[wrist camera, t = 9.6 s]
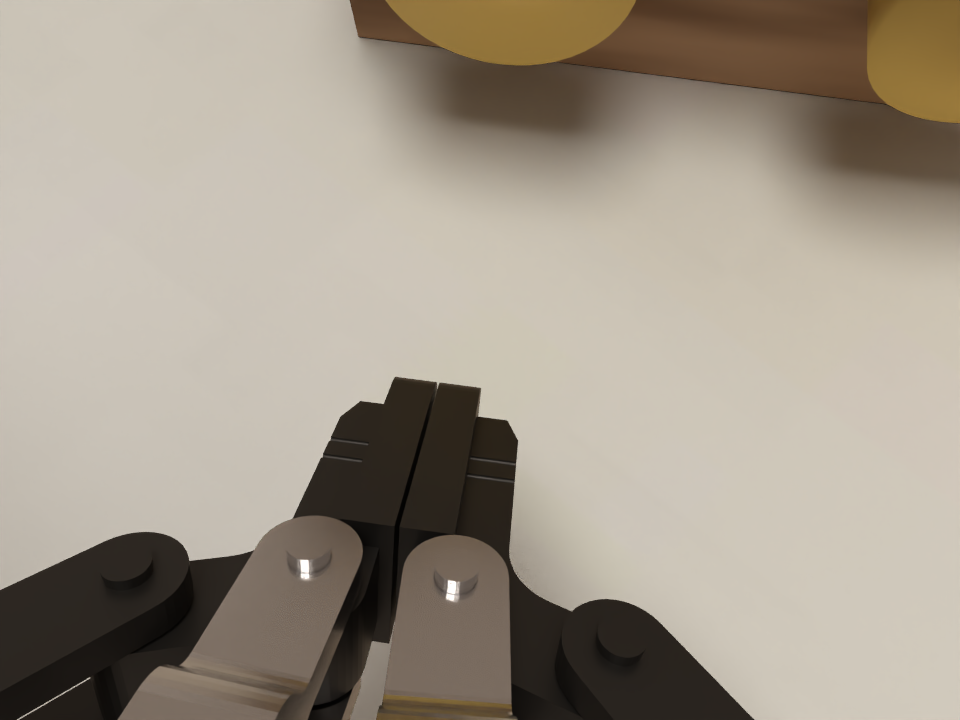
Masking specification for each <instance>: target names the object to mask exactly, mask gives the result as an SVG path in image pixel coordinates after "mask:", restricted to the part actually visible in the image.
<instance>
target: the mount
mask: <svg viewBox="0 0 960 720" xmlns="http://www.w3.org/2000/svg"><path fill="white" fill-rule="evenodd" d="M350 3H351V7H352V11H353V15H354V20H355V24H356V28H357V32H358V36H359V37H367V38H375V39H382V40H390V41H398V42H406V43H414V44H421V45H429V46H437V47H441V46H439V45H437V44H435V43H433V42H432V41H430V40H428V39H426V38H425V37H424V36H422V35H421V34H419V33H418V32H416V31H415V30H414V29H412V28H411V27H410V26H409V25H408V24H407V23H405V22H404V21H403V20H402V19H401V18H400V17H399V16H398V15H397V14H396V13H395V12H394V11H393V10H392V8H391V7H390V6H389V4H388V3H387V2H386V0H350ZM555 62H562V63H570V64H578V65H586V66H593V67H601V68H609V69H617V70H625V71H633V72H640V73H648V74H656V75H664V76H672V77H680V78H687V79H695V80H703V81H711V82H719V83H726V84H734V85H742V86H750V87H758V88H766V89H773V90H781V91H789V92H797V93H805V94H812V95H820V96H828V97H836V98H844V99H852V100H859V101H867V102H875V103H883V104H888V105H890V106H892V107H893V108H895V109H897V110H899V111H901V112H903V113H906V114H908V115H911V116H915V117H919V118H922V119H927V120H933V121H939V122H950V123H960V0H636V2H635V4H634V6H633V7H632V9H631V11H630V13H629V14H628V16H627V17H626V18H625V20H624V21H623V22H622V23H621V25H620V26H619V27H618V28H617V29H616V30H615V31H614V32H613V33H612V34H611V35H610V36H608V37H607V38H606V39H604V40H603V41H601V42H600V43H599V44H597V45H596V46H594V47H592V48H590V49H588V50H586V51H585V52H582V53H580V54H577V55H575V56H573V57H570V58H566V59H563V60H560V61H555Z"/></svg>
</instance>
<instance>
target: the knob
mask: <svg viewBox="0 0 960 720" xmlns="http://www.w3.org/2000/svg"><path fill="white" fill-rule="evenodd" d="M386 2H387V3H388V4H389V6H390V7H391V8H392V10H393V11H394V12H395V13H396V14H397V15H398V16H399V17H400V18H401V19H402V20H403V21H404V22H405V23H407V24H408V25H409V26H410V27H411V28H412V29H414V30H415V31H416V32H418V33H419V34H421V35H422V36H424V37H425V38H426V39H428V40H430V41H432V42H433V43H435V44H437V45H439V46H441V47H443V48H445V49H447V50H449V51H452V52H454V53H457V54H459V55H462V56H465V57H468V58H472V59H475V60H479V61H483V62H489V63H495V64H503V65H536V64H545V63H550V62H555V61H560V60H563V59H566V58H570V57H573V56H575V55H577V54H580V53H582V52H585V51H586V50H588V49H590V48H592V47H594V46H596V45H597V44H599V43H600V42H601V41H603V40H604V39H606V38H607V37H608V36H610V35H611V34H612V33H613V32H614V31H615V30H616V29H617V28H618V27H619V26H620V25H621V23H622V22H623V21H624V20H625V18H626V17H627V16H628V14H629V13H630V11H631V9H632V7H633V6H634V4H635V2H636V0H386Z"/></svg>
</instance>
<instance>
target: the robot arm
mask: <svg viewBox="0 0 960 720" xmlns="http://www.w3.org/2000/svg"><path fill="white" fill-rule="evenodd" d="M480 395H481V388H477V387H469V386H462V385H454V384H447V383H439V386H438V389H437V382H430V381H423V380H415V379H408V378H400V377H395V378H394V380H393V382H392V384H391V387H390V390H389V392H388V395H387V397H386V400H385V403H384V404H378V403H371V402H363V401H360V402H359V403H358V404H356V405H355V406H354V407H352V408H351V409H350V410H349V411H347V412H346V413H345V414H344V415H342V416H341V417H340V419H339V421H338V423H337V425H336V427H335V430H334V432H333V434H332V436H331V441H329V442H328V444H327V447H326V449H325V451H324V453H323V458H321V459H320V461H319V464H318V466H317V468H316V470H315V472H314V474H313V476H312V479H311V481H310V483H309V485H308V487H307V489H306V491H305V493H304V496H303V498H302V500H301V502H300V504H299V506H298V508H297V510H296V513H295V515H294V517H293V519H291V520H288V521H285V522H283V523H281V524H279V525H277V526H276V527H274V528H273V529H271V530H270V531H269V532H268V533H267V534H266V535H265V536H264V537H263V538H262V539H261V541H260V542H259V544H258V545H257V547H256V548H255V550H253V551H251V552H248V553H244V554H240V555H235V556H229V557H220V558H212V559H203V560H194V561H189V557H188V554H187V551H186V550H185V548H184V547H183V545H182V544H181V543H179V542H178V541H177V540H175V539H174V538H172V537H170V536H167V535H164V534H160V533H154V532H139V533H131V534H125V535H122V536H118V537H115V538H112V539H110V540H107V541H105V542H103V543H101V544H98V545H96V546H94V547H92V548H90V549H88V550H86V551H83V552H81V553H79V554H77V555H75V556H73V557H71V558H68V559H66V560H64V561H62V562H60V563H58V564H56V565H53V566H51V567H49V568H47V569H45V570H43V571H40V572H38V573H36V574H34V575H32V576H30V577H28V578H25V579H23V580H21V581H19V582H17V583H15V584H13V585H10V586H8V587H6V588H4V589H2V590H0V720H17V719H18V718H20V717H22V716H23V715H25V714H27V713H29V712H30V711H32V710H34V709H35V708H37V707H39V706H41V705H42V704H44V703H46V702H48V701H49V700H51V699H53V698H54V697H56V696H58V695H60V694H61V693H63V692H65V691H66V690H68V689H70V688H72V687H73V686H75V685H77V684H79V683H80V682H82V681H84V680H85V679H87V678H89V677H90V679H89V680H87V681H85V682H83V683H82V684H80V685H78V686H77V687H75V688H73V689H71V690H70V691H68V692H66V693H65V694H63V695H61V696H59V697H58V698H56V699H54V700H53V701H51V702H49V703H47V704H46V705H44V706H42V707H41V708H39V709H37V710H35V711H34V712H32V713H30V714H28V715H27V716H25V717H23V718H22V719H20V720H350V718H351V715H352V712H353V709H354V706H355V703H356V701H357V698H358V695H359V691H360V687H361V676H362V673H363V671H364V668H365V664H366V661H367V657H368V653H369V650H370V646H371V642H372V641H376V642H383V643H389V642H390V638H391V634H392V630H393V626H394V631H393V638H392V644H391V651H390V658H389V664H388V671H387V677H386V684H385V691H384V697H383V702H382V705H380V706H379V709H378V713H377V718H376V720H754V719H753V718H752V717H751V716H750V715H749V714H748V713H747V712H746V711H745V710H744V709H743V708H742V707H741V706H740V705H739V704H738V703H737V702H736V701H735V700H734V699H733V698H732V697H731V696H730V694H729V693H728V692H727V691H726V690H725V689H724V688H723V687H722V686H721V685H720V684H719V683H718V682H717V681H716V680H715V679H714V678H713V677H712V676H711V675H710V674H709V673H708V672H707V671H706V670H705V669H704V668H703V667H702V666H701V665H700V664H699V663H698V662H697V660H696V659H695V658H694V657H693V656H692V655H691V654H690V653H689V652H688V651H687V650H686V649H685V648H684V647H683V646H682V645H681V644H680V643H679V642H678V641H677V640H676V639H675V638H674V637H673V636H672V635H671V634H670V633H669V632H668V631H667V630H666V629H665V628H664V627H663V625H662V624H661V623H660V622H658V621H657V620H656V619H655V618H654V617H653V616H652V615H650V614H649V613H647V612H646V611H644V610H642V609H641V608H639V607H637V606H635V605H632V604H629V603H627V602H623V601H618V600H610V599H600V600H594V601H589V602H587V603H584V604H582V605H580V606H579V607H577V608H575V609H574V610H573V611H572V612H571V611H569V610H567V609H564V608H562V607H560V606H558V605H555V604H553V603H551V602H549V601H547V600H545V599H543V598H541V597H539V596H538V595H536V594H535V593H533V592H532V591H530V590H529V589H528V588H527V587H526V586H525V585H524V584H523V583H522V582H521V581H520V579H519V578H518V577H517V575H516V574H515V572H514V570H513V568H512V565H511V562H510V558H509V544H510V532H511V520H512V507H513V495H514V482H515V471H516V459H517V446H518V440H517V438H516V436H515V434H514V432H513V430H512V429H511V427H510V425H509V423H508V421H506V420H499V419H491V418H484V417H478V413H479V404H480ZM394 622H395V625H394Z"/></svg>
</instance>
